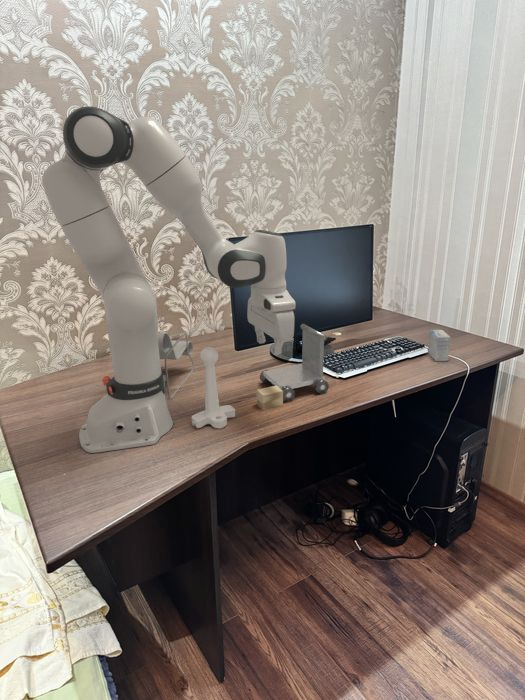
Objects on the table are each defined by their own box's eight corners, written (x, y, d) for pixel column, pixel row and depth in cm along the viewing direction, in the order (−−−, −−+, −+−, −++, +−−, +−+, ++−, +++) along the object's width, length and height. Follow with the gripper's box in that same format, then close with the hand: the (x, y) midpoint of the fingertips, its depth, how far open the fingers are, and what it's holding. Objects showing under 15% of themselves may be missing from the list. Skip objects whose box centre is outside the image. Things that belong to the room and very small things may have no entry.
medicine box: (448, 361, 154) (451, 336, 151) (434, 361, 154) (437, 337, 151) (440, 353, 162) (443, 329, 159) (427, 353, 162) (429, 329, 159)
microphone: (330, 346, 179) (297, 354, 165) (328, 331, 179) (294, 338, 165) (342, 345, 175) (308, 352, 161) (339, 330, 175) (306, 336, 161)
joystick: (227, 410, 124) (224, 340, 117) (242, 422, 118) (239, 349, 111) (189, 422, 119) (183, 349, 112) (202, 435, 113) (197, 358, 106)
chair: (124, 400, 131) (115, 334, 125) (156, 366, 155) (150, 309, 148) (169, 402, 129) (162, 336, 123) (195, 368, 152) (191, 310, 146)
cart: (282, 403, 128) (282, 344, 122) (259, 383, 140) (258, 329, 134) (328, 392, 134) (330, 336, 127) (302, 374, 146) (303, 322, 140)
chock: (263, 410, 124) (262, 395, 123) (257, 404, 128) (256, 389, 126) (283, 406, 127) (283, 391, 125) (276, 400, 130) (276, 385, 128)
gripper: (241, 289, 124) (242, 338, 129) (275, 307, 107) (275, 362, 111) (262, 287, 126) (262, 335, 131) (299, 304, 109) (298, 358, 114)
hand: (268, 348), depth 121 cm, fingers open, 8 cm apart
